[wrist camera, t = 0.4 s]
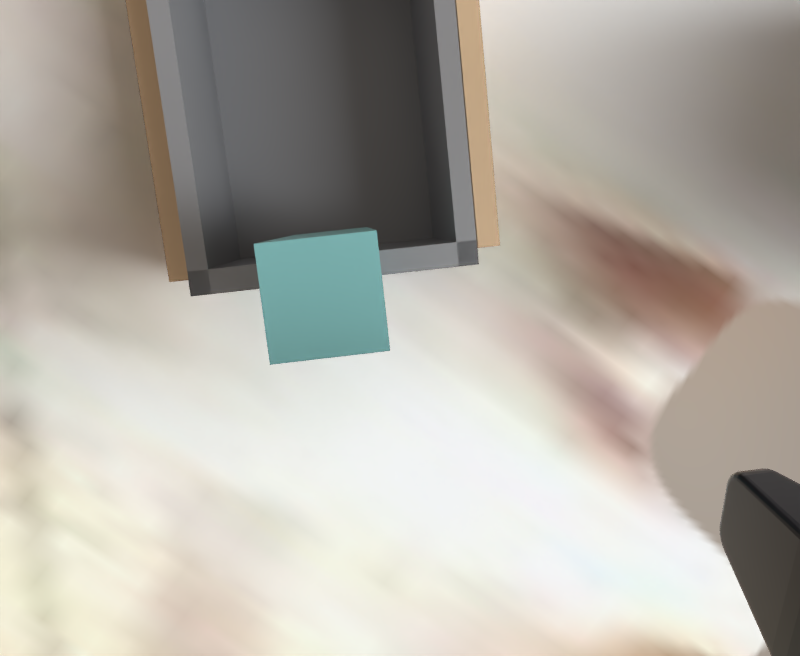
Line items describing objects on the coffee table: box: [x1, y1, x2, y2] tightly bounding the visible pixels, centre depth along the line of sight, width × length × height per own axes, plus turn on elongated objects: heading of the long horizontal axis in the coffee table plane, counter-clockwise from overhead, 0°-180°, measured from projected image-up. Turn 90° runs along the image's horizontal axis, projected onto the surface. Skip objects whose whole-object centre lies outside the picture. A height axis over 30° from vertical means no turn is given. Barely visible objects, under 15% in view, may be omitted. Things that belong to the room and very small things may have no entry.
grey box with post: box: [146, 0, 479, 365], centre depth 16 cm, size 11×7×13 cm, turn 6°
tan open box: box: [125, 0, 500, 282], centre depth 21 cm, size 11×9×4 cm
